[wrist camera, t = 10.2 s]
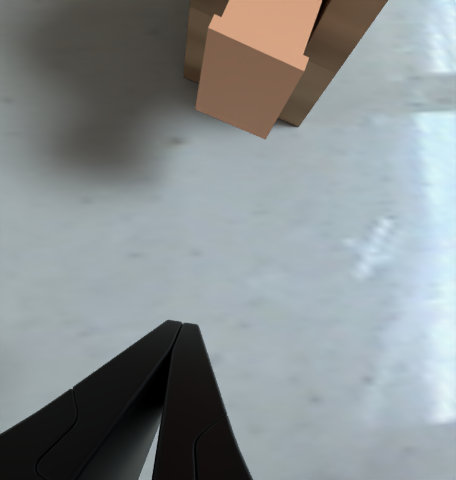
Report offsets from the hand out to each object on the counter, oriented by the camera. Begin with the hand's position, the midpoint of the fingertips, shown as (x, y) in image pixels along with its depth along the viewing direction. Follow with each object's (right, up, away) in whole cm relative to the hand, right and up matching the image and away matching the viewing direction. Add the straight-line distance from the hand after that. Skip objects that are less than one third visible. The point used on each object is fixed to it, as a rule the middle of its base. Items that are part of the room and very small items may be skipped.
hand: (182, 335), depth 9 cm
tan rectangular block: (+3, +11, +7) cm, 13 cm away
